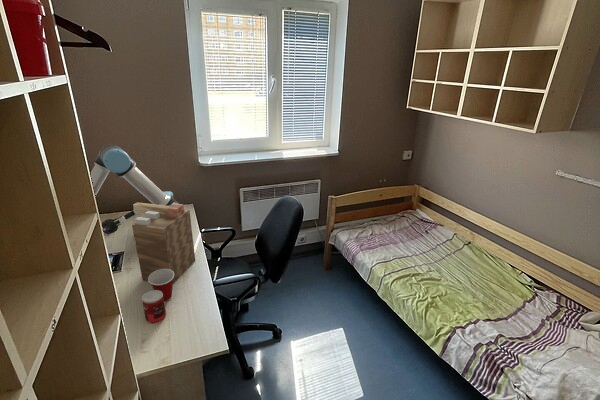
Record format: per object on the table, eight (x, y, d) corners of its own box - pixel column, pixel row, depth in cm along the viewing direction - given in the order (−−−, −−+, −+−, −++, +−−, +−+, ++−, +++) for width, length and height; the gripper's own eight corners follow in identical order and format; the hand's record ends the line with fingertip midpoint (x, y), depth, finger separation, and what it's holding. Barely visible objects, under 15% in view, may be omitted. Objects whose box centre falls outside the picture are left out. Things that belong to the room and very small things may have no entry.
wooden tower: (168, 256, 179) (161, 206, 168) (195, 260, 176) (189, 209, 165) (142, 280, 159) (131, 225, 148) (172, 285, 156) (163, 229, 145)
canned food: (149, 311, 140) (145, 290, 135) (168, 310, 140) (165, 289, 136) (142, 324, 132) (138, 302, 128) (163, 323, 133) (159, 301, 129)
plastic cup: (151, 308, 141) (146, 285, 137) (152, 293, 151) (148, 271, 146) (177, 303, 145) (174, 280, 140) (177, 288, 154) (174, 266, 150)
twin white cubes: (148, 215, 158) (148, 210, 157) (160, 217, 156) (159, 212, 155) (135, 224, 149) (134, 219, 148) (147, 225, 148) (146, 220, 147)
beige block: (139, 206, 167) (138, 199, 166) (184, 211, 162) (183, 204, 161) (131, 211, 162) (130, 203, 160) (177, 216, 157) (176, 209, 155)
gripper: (127, 223, 185) (153, 209, 177) (92, 245, 162) (120, 230, 154) (119, 212, 183) (145, 197, 175) (83, 232, 160) (111, 216, 153)
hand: (134, 212), depth 165 cm, fingers open, 13 cm apart
